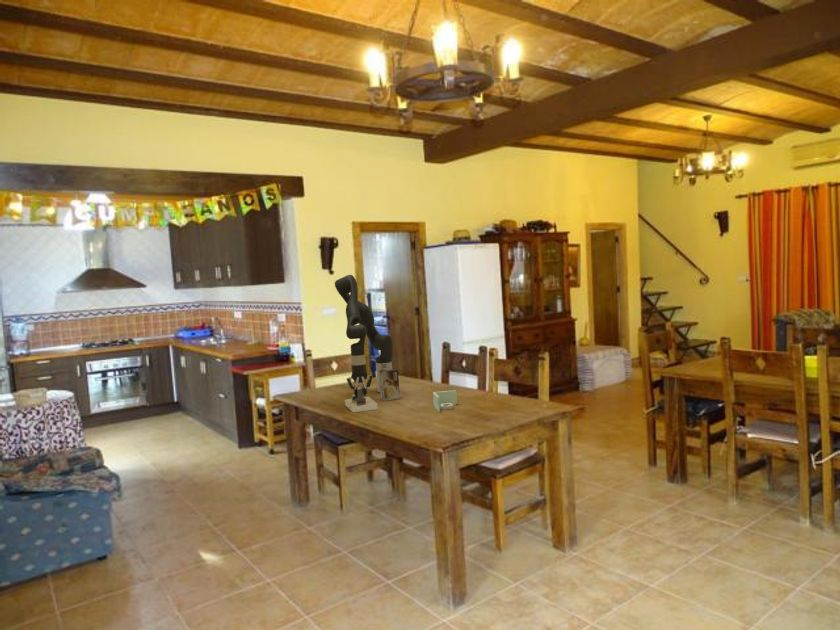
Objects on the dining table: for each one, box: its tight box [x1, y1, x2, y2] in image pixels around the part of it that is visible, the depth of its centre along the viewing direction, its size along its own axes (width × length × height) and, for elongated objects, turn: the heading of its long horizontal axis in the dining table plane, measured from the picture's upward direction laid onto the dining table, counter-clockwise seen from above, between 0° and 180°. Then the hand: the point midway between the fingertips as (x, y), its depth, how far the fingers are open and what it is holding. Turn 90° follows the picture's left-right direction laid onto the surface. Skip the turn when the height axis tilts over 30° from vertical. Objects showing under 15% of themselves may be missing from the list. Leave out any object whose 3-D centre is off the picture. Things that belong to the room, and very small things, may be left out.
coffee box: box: [379, 368, 401, 402], centre depth 329 cm, size 9×6×16 cm
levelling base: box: [344, 394, 378, 413], centre depth 314 cm, size 13×18×6 cm
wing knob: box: [356, 385, 366, 403], centre depth 312 cm, size 8×5×8 cm, turn 0°
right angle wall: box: [432, 389, 458, 413], centre depth 301 cm, size 12×12×8 cm
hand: (360, 395), depth 312 cm, fingers open, 3 cm apart
